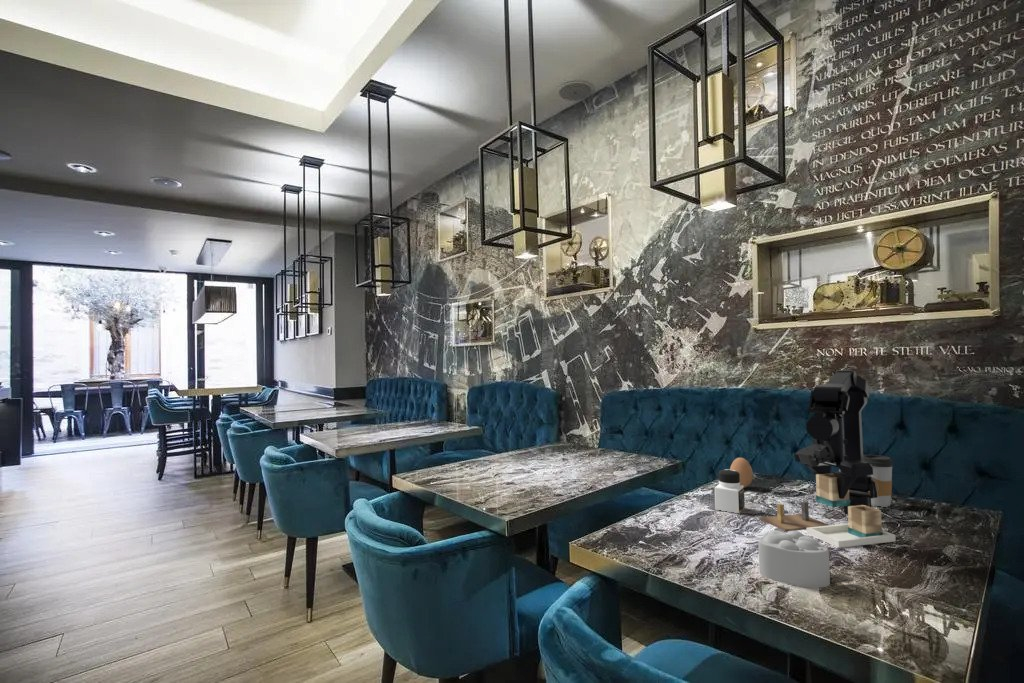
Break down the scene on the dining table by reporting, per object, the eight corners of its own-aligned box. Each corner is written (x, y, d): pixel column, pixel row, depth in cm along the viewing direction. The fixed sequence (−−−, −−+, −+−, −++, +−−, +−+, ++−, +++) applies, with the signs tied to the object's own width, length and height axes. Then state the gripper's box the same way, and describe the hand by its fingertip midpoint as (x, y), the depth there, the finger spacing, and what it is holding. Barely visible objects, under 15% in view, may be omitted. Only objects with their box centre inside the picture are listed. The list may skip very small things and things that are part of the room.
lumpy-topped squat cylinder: (768, 560, 116) (767, 523, 116) (833, 576, 107) (832, 535, 107) (755, 576, 108) (754, 535, 108) (825, 593, 99) (823, 550, 99)
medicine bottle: (739, 514, 149) (738, 474, 149) (714, 510, 153) (713, 471, 154) (744, 508, 155) (743, 469, 155) (721, 504, 159) (719, 467, 159)
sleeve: (864, 531, 131) (863, 504, 132) (882, 538, 126) (881, 510, 126) (848, 532, 130) (847, 506, 131) (866, 539, 125) (864, 512, 125)
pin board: (801, 517, 145) (800, 496, 145) (829, 528, 135) (828, 506, 136) (759, 521, 142) (758, 500, 143) (785, 533, 133) (784, 510, 133)
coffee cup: (856, 503, 158) (854, 456, 158) (871, 499, 161) (869, 453, 162) (884, 510, 150) (882, 460, 151) (900, 506, 154) (898, 458, 154)
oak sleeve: (832, 499, 130) (831, 473, 130) (850, 505, 125) (849, 477, 125) (816, 501, 129) (815, 474, 129) (832, 507, 123) (831, 478, 124)
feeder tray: (860, 530, 134) (859, 522, 134) (895, 543, 124) (895, 535, 124) (806, 535, 130) (806, 527, 131) (838, 550, 121) (838, 541, 121)
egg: (736, 483, 183) (735, 454, 184) (757, 487, 178) (756, 457, 178) (726, 487, 178) (725, 457, 179) (747, 491, 173) (746, 460, 173)
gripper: (777, 431, 135) (778, 488, 134) (834, 442, 116) (837, 508, 116) (811, 429, 137) (813, 485, 136) (873, 439, 119) (876, 505, 118)
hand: (832, 495), depth 127 cm, fingers closed on oak sleeve, 5 cm apart
